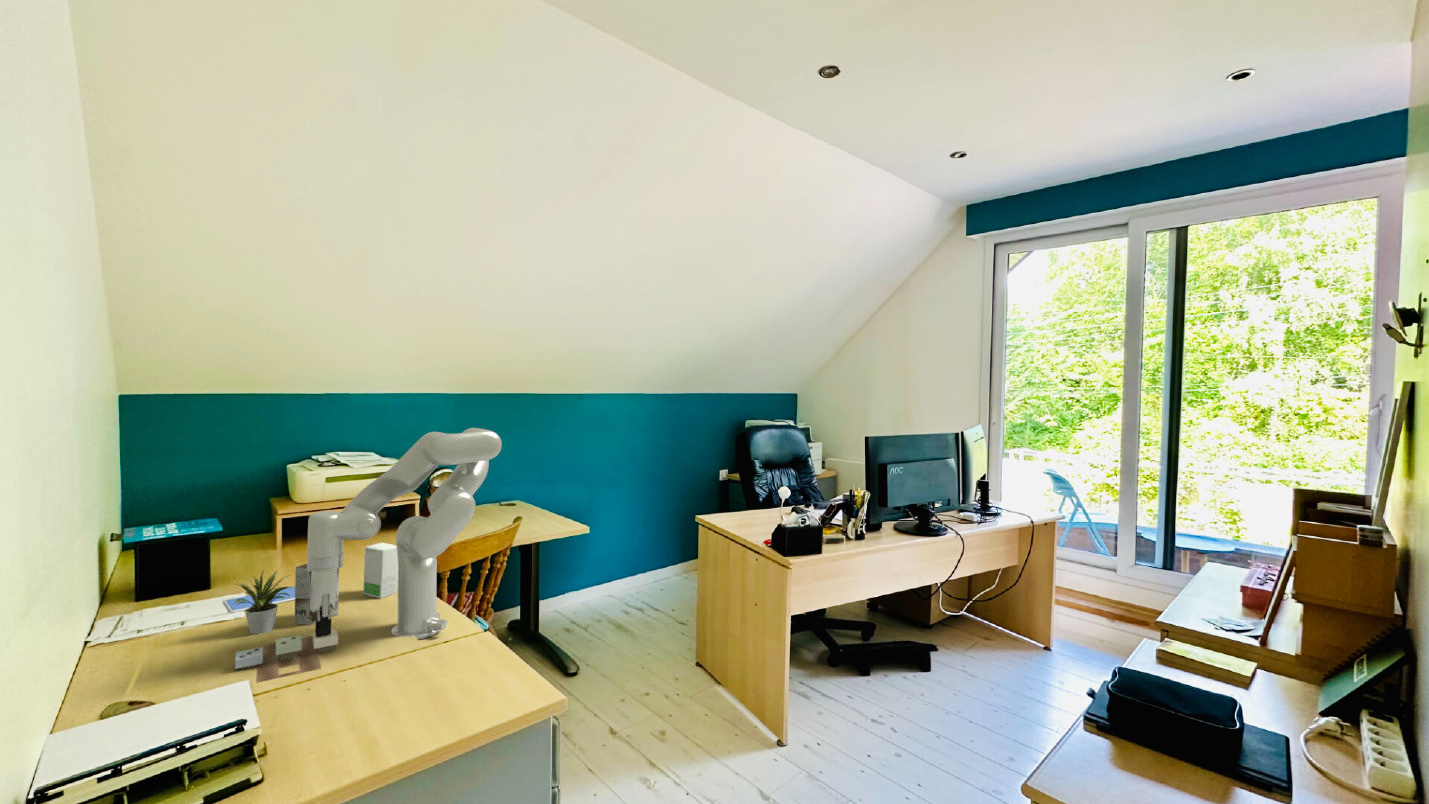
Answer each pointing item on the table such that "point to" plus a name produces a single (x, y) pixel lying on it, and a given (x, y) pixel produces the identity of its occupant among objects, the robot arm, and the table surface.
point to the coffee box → (308, 597)
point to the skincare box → (380, 570)
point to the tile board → (271, 665)
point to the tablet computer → (243, 606)
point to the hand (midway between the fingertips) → (323, 634)
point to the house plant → (262, 605)
